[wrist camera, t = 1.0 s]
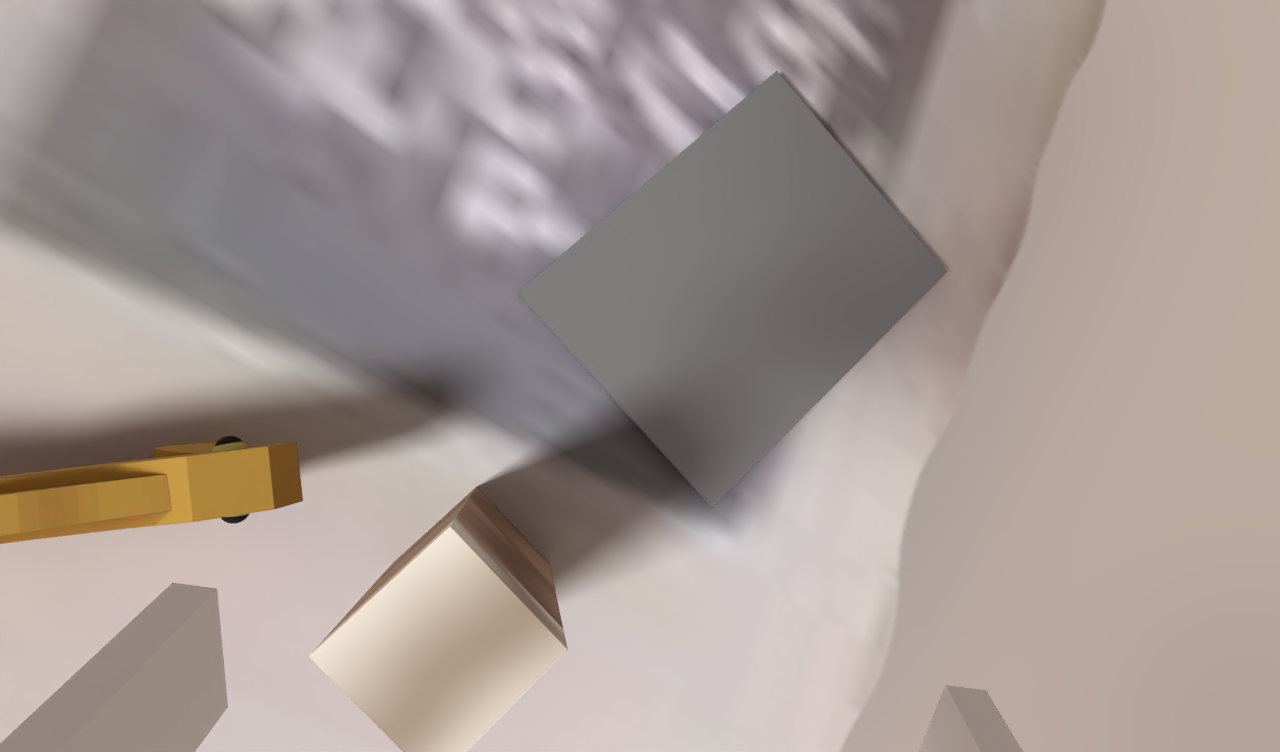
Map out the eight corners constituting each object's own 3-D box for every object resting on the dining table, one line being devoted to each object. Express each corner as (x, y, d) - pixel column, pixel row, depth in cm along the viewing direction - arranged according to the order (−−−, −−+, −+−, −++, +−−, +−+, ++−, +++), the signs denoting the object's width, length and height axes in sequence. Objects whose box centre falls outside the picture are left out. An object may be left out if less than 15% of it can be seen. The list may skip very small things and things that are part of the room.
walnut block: (392, 563, 30) (308, 656, 18) (476, 486, 31) (450, 526, 19) (467, 642, 30) (434, 783, 18) (549, 563, 31) (567, 650, 19)
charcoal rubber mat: (517, 294, 32) (517, 292, 31) (772, 76, 35) (776, 70, 34) (709, 505, 32) (712, 507, 32) (939, 274, 36) (946, 271, 35)
